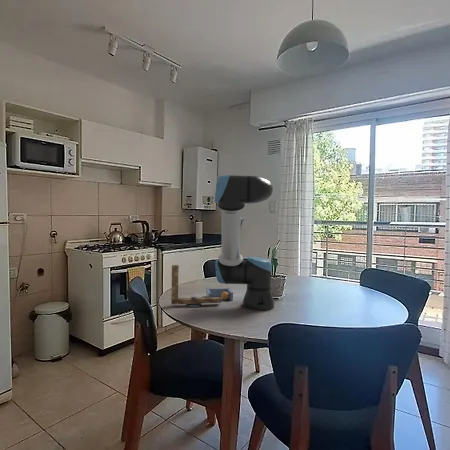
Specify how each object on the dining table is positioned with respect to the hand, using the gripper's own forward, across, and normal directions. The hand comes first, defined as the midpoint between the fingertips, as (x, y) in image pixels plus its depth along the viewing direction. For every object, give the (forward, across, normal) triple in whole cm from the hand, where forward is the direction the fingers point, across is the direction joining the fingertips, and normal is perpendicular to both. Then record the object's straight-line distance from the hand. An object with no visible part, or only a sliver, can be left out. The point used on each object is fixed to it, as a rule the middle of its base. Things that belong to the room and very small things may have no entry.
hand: (233, 247), depth 195 cm
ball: (+24, -12, +18) cm, 32 cm away
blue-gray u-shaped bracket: (+24, -8, +19) cm, 32 cm away
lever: (+23, -9, +36) cm, 44 cm away
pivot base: (+24, -8, +37) cm, 45 cm away
